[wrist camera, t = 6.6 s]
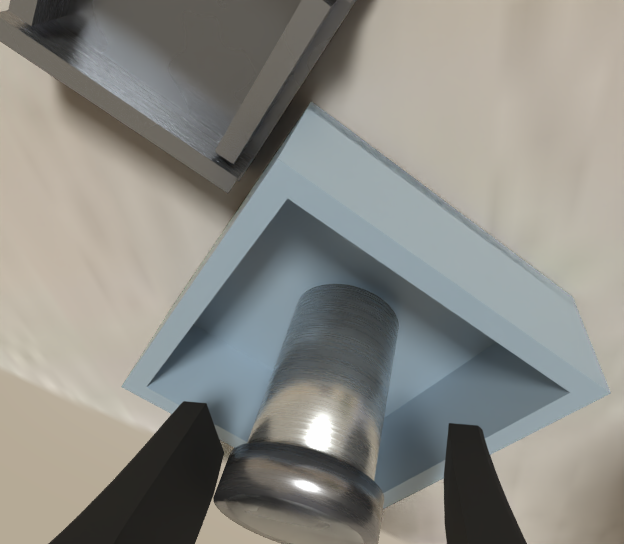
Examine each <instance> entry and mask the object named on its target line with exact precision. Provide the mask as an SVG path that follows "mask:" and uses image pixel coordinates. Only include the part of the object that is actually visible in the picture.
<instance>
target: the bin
mask: <svg viewBox="0 0 624 544" xmlns="http://www.w3.org/2000/svg"><path fill="white" fill-rule="evenodd" d="M324 284H347V285H352V286H356V287H359V288H362V289H365V290H368V291H370V292H372V293H374V294H375V295H377V296H379V297H380V298H382V299H383V300H384V301H386V302H387V303H388V304H389V305H390V306H391V308H392V309H393V310H394V312H395V314H396V315H397V318H398V322H399V330H398V337H397V343H396V349H395V355H394V361H393V367H392V373H391V379H390V386H389V392H388V398H387V404H386V410H385V416H384V422H383V429H382V435H381V441H380V447H379V453H378V459H377V465H376V471H375V478H374V481H375V482H376V484H377V485H378V486H379V487H380V488H381V490H382V492H383V494H384V505H383V509H384V508H386V507H388V506H390V505H392V504H394V503H396V502H398V501H400V500H402V499H404V498H406V497H408V496H410V495H412V494H414V493H416V492H418V491H420V490H422V489H423V488H425V487H427V486H429V485H431V484H433V483H435V482H437V481H439V480H441V479H443V478H444V468H445V457H446V447H447V437H448V426H449V423H455V424H467V425H478V426H479V427H480V428H481V429H482V430H483V434H484V437H485V441H486V444H487V448H488V451H489V454H492V453H494V452H496V451H498V450H500V449H502V448H504V447H506V446H508V445H510V444H512V443H514V442H516V441H518V440H520V439H522V438H524V437H526V436H528V435H530V434H532V433H534V432H536V431H538V430H539V429H541V428H543V427H545V426H547V425H549V424H551V423H553V422H555V421H557V420H559V419H561V418H563V417H565V416H567V415H569V414H571V413H573V412H575V411H577V410H579V409H581V408H583V407H585V406H587V405H589V404H591V403H593V402H595V401H597V400H598V399H600V398H602V397H604V396H606V395H608V394H610V393H611V392H610V390H609V387H608V385H607V382H606V380H605V377H604V374H603V372H602V369H601V367H600V364H599V362H598V359H597V357H596V354H595V352H594V349H593V347H592V344H591V342H590V339H589V337H588V334H587V332H586V329H585V327H584V324H583V322H582V319H581V317H580V314H579V311H578V309H577V306H576V304H575V301H574V299H573V297H572V296H570V295H569V294H568V293H566V292H565V291H564V290H562V289H561V288H560V287H558V286H557V285H556V284H554V283H553V282H552V281H550V280H549V279H548V278H546V277H545V276H544V275H542V274H541V273H540V272H538V271H537V270H536V269H534V268H533V267H532V266H530V265H529V264H528V263H526V262H525V261H524V260H522V259H521V258H520V257H518V256H517V255H516V254H514V253H513V252H512V251H510V250H509V249H508V248H506V247H505V246H504V245H502V244H501V243H500V242H498V241H497V240H496V239H494V238H493V237H492V236H490V235H489V234H488V233H486V232H485V231H484V230H482V229H481V228H480V227H478V226H477V225H476V224H474V223H473V222H472V221H470V220H469V219H468V218H466V217H465V216H464V215H462V214H461V213H460V212H458V211H457V210H456V209H454V208H453V207H452V206H450V205H449V204H448V203H446V202H445V201H444V200H442V199H441V198H440V197H438V196H437V195H436V194H434V193H433V192H432V191H430V190H429V189H428V188H426V187H425V186H424V185H422V184H421V183H420V182H418V181H417V180H416V179H414V178H413V177H412V176H410V175H409V174H408V173H406V172H405V171H404V170H402V169H401V168H400V167H398V166H397V165H396V164H394V163H393V162H392V161H390V160H389V159H388V158H386V157H385V156H384V155H382V154H381V153H380V152H378V151H377V150H376V149H374V148H373V147H372V146H370V145H369V144H368V143H366V142H365V141H364V140H362V139H361V138H360V137H358V136H357V135H356V134H354V133H353V132H352V131H350V130H349V129H348V128H346V127H345V126H344V125H342V124H341V123H340V122H338V121H337V120H336V119H334V118H333V117H332V116H330V115H329V114H328V113H326V112H325V111H324V110H322V109H321V108H320V107H318V106H317V105H316V104H314V103H313V102H312V101H311V102H310V104H309V105H308V107H307V108H306V110H305V111H304V112H303V114H302V115H301V117H300V118H299V120H298V121H297V123H296V124H295V126H294V127H293V129H292V130H291V132H290V133H289V135H288V136H287V138H286V139H285V141H284V142H283V144H282V145H281V146H280V148H279V149H278V151H277V152H276V154H275V155H274V157H273V158H272V160H271V161H270V163H269V164H268V166H267V167H266V169H265V170H264V172H263V173H262V175H261V176H260V178H259V179H258V180H257V182H256V183H255V185H254V186H253V188H252V189H251V191H250V192H249V194H248V195H247V197H246V198H245V200H244V201H243V203H242V204H241V206H240V207H239V209H238V210H237V212H236V213H235V214H234V216H233V217H232V219H231V220H230V222H229V223H228V225H227V226H226V228H225V229H224V231H223V232H222V234H221V235H220V237H219V238H218V240H217V241H216V243H215V244H214V246H213V247H212V248H211V250H210V251H209V253H208V254H207V256H206V257H205V259H204V260H203V262H202V263H201V265H200V266H199V268H198V269H197V271H196V272H195V274H194V275H193V277H192V278H191V280H190V281H189V282H188V284H187V285H186V287H185V288H184V290H183V291H182V293H181V294H180V296H179V297H178V299H177V300H176V302H175V303H174V305H173V306H172V308H171V309H170V311H169V312H168V314H167V315H166V317H165V318H164V320H163V322H162V323H161V325H160V326H159V328H158V330H157V331H156V333H155V334H154V336H153V337H152V339H151V341H150V342H149V344H148V345H147V347H146V349H145V350H144V352H143V353H142V355H141V356H140V358H139V360H138V361H137V363H136V364H135V366H134V368H133V369H132V371H131V372H130V374H129V375H128V377H127V379H126V380H125V382H124V383H123V385H122V388H124V389H126V390H128V391H130V392H132V393H134V394H135V395H137V396H139V397H141V398H143V399H145V400H147V401H149V402H150V403H152V404H154V405H156V406H158V407H160V408H162V409H163V410H165V411H167V412H169V413H171V414H172V413H173V412H174V411H175V410H176V409H177V408H178V406H179V405H180V404H181V403H182V402H183V401H187V402H199V403H207V406H208V409H209V412H210V414H211V417H212V420H213V423H214V426H215V429H216V431H217V434H218V437H219V440H221V441H223V442H225V443H227V444H229V445H230V446H232V447H234V448H236V447H237V446H239V445H242V444H246V443H247V442H248V439H249V437H250V434H251V431H252V428H253V425H254V423H255V420H256V417H257V414H258V412H259V409H260V406H261V403H262V400H263V398H264V395H265V392H266V389H267V386H268V384H269V381H270V378H271V375H272V372H273V370H274V367H275V364H276V361H277V358H278V356H279V353H280V350H281V347H282V345H283V342H284V339H285V336H286V333H287V331H288V328H289V325H290V322H291V319H292V317H293V314H294V311H295V308H296V305H297V303H298V300H299V298H300V297H301V296H302V295H303V294H304V293H305V292H306V291H308V290H309V289H311V288H313V287H316V286H319V285H324Z"/></svg>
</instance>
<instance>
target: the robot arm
mask: <svg viewBox="0 0 624 544" xmlns="http://www.w3.org/2000/svg"><path fill="white" fill-rule="evenodd" d="M223 455H224V451H223V448H222V445H221V443H220V440H219V437H218V434H217V431H216V429H215V426H214V423H213V420H212V417H211V414H210V412H209V409H208V406H207V403H199V402H187V401H183V402H182V403H181V404H180V405H179V406H178V408H177V409H176V410H175V411H174V412H173V413H172V414H171V416H170V417H169V418H168V419H167V420H166V421H165V423H164V424H163V425H162V426H161V427H160V428H159V430H158V431H157V432H156V433H155V434H154V435H153V436H152V438H151V439H150V440H149V441H148V442H147V443H146V444H145V446H144V447H143V448H142V449H141V450H140V451H139V452H138V454H137V455H136V456H135V457H134V458H133V459H132V460H131V461H130V463H128V465H127V466H126V467H125V468H124V469H123V470H122V471H121V472H120V473H119V474H118V476H117V477H116V478H115V479H114V480H113V481H112V482H111V483H110V484H109V485H108V486H107V487H106V488H105V489H104V490H103V491H102V492H101V493H100V494H99V495H98V496H97V497H96V499H94V501H92V502H91V504H90V505H88V507H87V508H86V509H85V510H84V511H83V512H82V513H81V514H80V515H79V516H78V517H77V518H76V519H74V521H72V522H71V523H70V524H69V525H68V526H67V527H66V528H65V529H64V530H63V531H62V532H61V533H60V534H59V535H58V536H56V537H55V538H54V539H53V540H52V541H51V542H50V543H49V544H195V542H196V539H197V537H198V534H199V531H200V529H201V526H202V524H203V520H204V518H205V516H206V513H207V510H208V508H209V505H210V502H211V499H212V497H213V494H214V490H215V487H216V483H217V479H218V475H219V471H220V467H221V463H222V459H223ZM444 511H445V529H446V538H447V544H527V543H526V541H525V539H524V537H523V535H522V532H521V530H520V528H519V526H518V524H517V521H516V519H515V517H514V515H513V512H512V510H511V508H510V506H509V503H508V501H507V499H506V496H505V494H504V491H503V489H502V486H501V484H500V481H499V479H498V476H497V474H496V471H495V468H494V465H493V463H492V460H491V457H490V454H489V451H488V448H487V444H486V441H485V437H484V434H483V430H482V429H481V428H480V427H479V426H478V425H467V424H455V423H449V426H448V437H447V447H446V457H445V468H444Z"/></svg>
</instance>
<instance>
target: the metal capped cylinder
mask: <svg viewBox="0 0 624 544" xmlns="http://www.w3.org/2000/svg"><path fill="white" fill-rule="evenodd" d="M398 330H399V322H398V318H397V315H396V314H395V312H394V310H393V309H392V308H391V306H390V305H389V304H388V303H387V302H386V301H384V300H383V299H382V298H380V297H379V296H377V295H375V294H374V293H372V292H370V291H368V290H365V289H362V288H359V287H356V286H352V285H347V284H324V285H319V286H316V287H313V288H311V289H309V290H308V291H306V292H305V293H304V294H303V295H302V296H301V297H300V298H299V300H298V303H297V305H296V308H295V311H294V314H293V317H292V319H291V322H290V325H289V328H288V331H287V333H286V336H285V339H284V342H283V345H282V347H281V350H280V353H279V356H278V358H277V361H276V364H275V367H274V370H273V372H272V375H271V378H270V381H269V384H268V386H267V389H266V392H265V395H264V398H263V400H262V403H261V406H260V409H259V412H258V414H257V417H256V420H255V423H254V425H253V428H252V431H251V434H250V437H249V439H248V442H247V443H246V444H242V445H239V446H237V447H236V448H234V449H233V450H232V451H231V453H230V455H229V458H228V461H227V463H226V466H225V469H224V471H223V474H222V477H221V479H220V482H219V485H218V487H217V490H216V493H215V495H214V503H215V505H216V506H217V508H218V509H219V510H220V511H221V512H222V513H223V514H224V515H225V516H227V517H228V518H230V519H231V520H232V521H234V522H236V523H237V524H239V525H241V526H243V527H244V528H246V529H248V530H250V531H252V532H254V533H256V534H259V535H261V536H263V537H266V538H268V539H271V540H273V541H276V542H279V543H282V544H378V540H379V533H380V526H381V519H382V512H383V505H384V494H383V492H382V490H381V488H380V487H379V486H378V485H377V484H376V482H375V481H374V478H375V471H376V465H377V459H378V453H379V447H380V441H381V435H382V429H383V422H384V416H385V410H386V404H387V398H388V392H389V386H390V379H391V373H392V367H393V361H394V355H395V349H396V343H397V337H398Z"/></svg>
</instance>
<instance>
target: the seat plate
mask: <svg viewBox="0 0 624 544" xmlns="http://www.w3.org/2000/svg"><path fill="white" fill-rule="evenodd" d="M355 2H356V0H10V5H9V10H7V11H3V12H0V42H2V43H3V44H5V45H6V46H8V47H9V48H11V49H12V50H14V51H15V52H17V53H18V54H20V55H21V56H23V57H24V58H26V59H27V60H29V61H30V62H32V63H33V64H35V65H36V66H38V67H39V68H41V69H42V70H44V71H45V72H47V73H48V74H50V75H51V76H53V77H54V78H56V79H57V80H59V81H60V82H62V83H63V84H65V85H66V86H68V87H69V88H71V89H72V90H74V91H75V92H77V93H78V94H80V95H81V96H83V97H84V98H86V99H87V100H89V101H90V102H92V103H93V104H95V105H96V106H98V107H99V108H101V109H102V110H104V111H105V112H107V113H108V114H110V115H111V116H113V117H114V118H116V119H117V120H119V121H120V122H122V123H123V124H125V125H126V126H128V127H129V128H131V129H132V130H134V131H135V132H137V133H138V134H140V135H141V136H143V137H144V138H146V139H147V140H149V141H150V142H152V143H153V144H155V145H156V146H158V147H159V148H161V149H162V150H164V151H165V152H167V153H168V154H170V155H171V156H173V157H174V158H176V159H177V160H179V161H180V162H181V163H183V164H184V165H186V166H187V167H189V168H190V169H192V170H193V171H195V172H196V173H198V174H199V175H201V176H202V177H204V178H205V179H207V180H208V181H210V182H211V183H213V184H214V185H216V186H217V187H219V188H220V189H222V190H223V191H225V192H226V193H229V191H230V190H231V188H232V187H233V185H234V184H235V182H236V181H240V179H241V178H242V176H243V175H244V173H245V172H246V170H247V169H248V167H249V166H250V164H251V163H252V161H253V160H254V158H255V156H256V155H257V153H258V152H259V150H260V149H261V147H262V146H263V144H264V143H265V141H266V139H267V138H268V136H269V135H270V133H271V132H272V130H273V129H274V127H275V126H276V124H277V122H278V121H279V119H280V118H281V116H282V115H283V113H284V112H285V110H286V109H287V107H288V105H289V104H290V102H291V101H292V99H293V98H294V96H295V95H296V93H297V92H298V90H299V88H300V87H301V85H302V84H303V82H304V81H305V79H306V78H307V76H308V75H309V73H310V72H311V70H312V68H313V67H314V65H315V64H316V62H317V61H318V59H319V58H320V56H321V55H322V53H323V51H324V50H325V48H326V47H327V45H328V44H329V42H330V41H331V39H332V38H333V36H334V34H335V33H336V31H337V30H338V28H339V27H340V25H341V24H342V22H343V21H344V19H345V17H346V16H347V14H348V13H349V11H350V10H351V8H352V7H353V5H354V4H355Z"/></svg>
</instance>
